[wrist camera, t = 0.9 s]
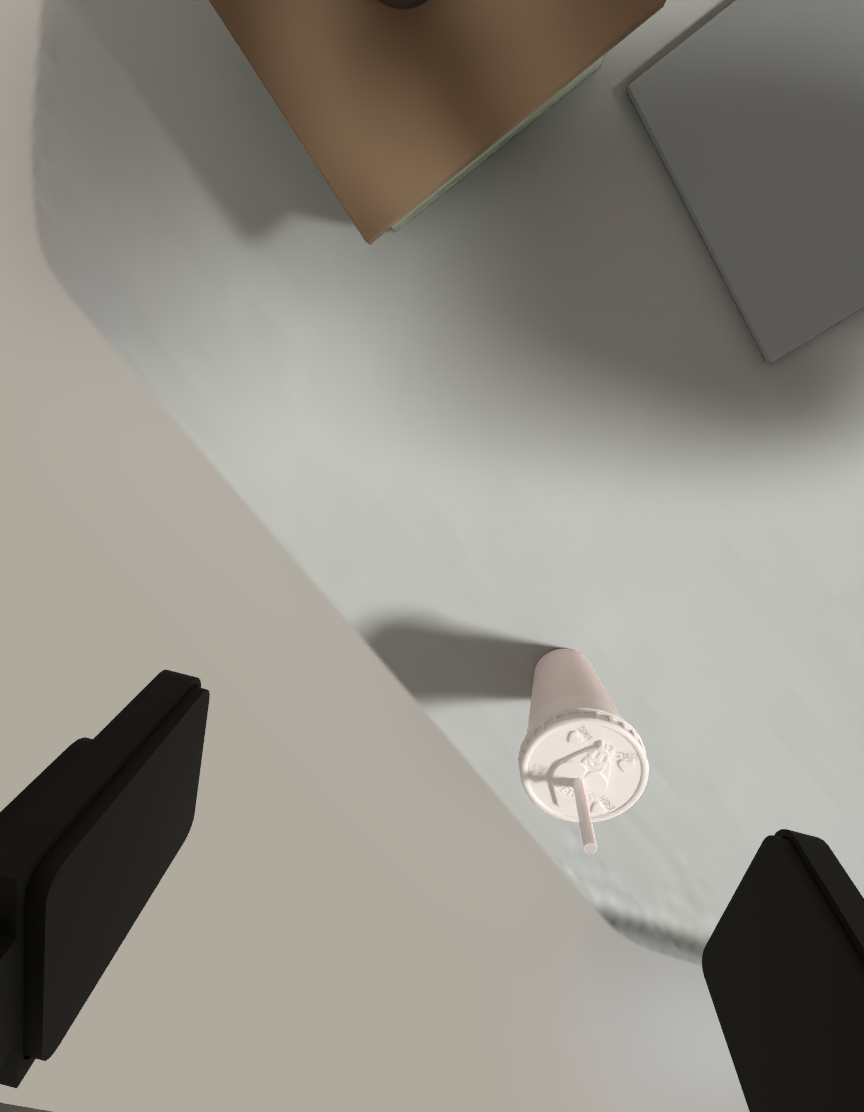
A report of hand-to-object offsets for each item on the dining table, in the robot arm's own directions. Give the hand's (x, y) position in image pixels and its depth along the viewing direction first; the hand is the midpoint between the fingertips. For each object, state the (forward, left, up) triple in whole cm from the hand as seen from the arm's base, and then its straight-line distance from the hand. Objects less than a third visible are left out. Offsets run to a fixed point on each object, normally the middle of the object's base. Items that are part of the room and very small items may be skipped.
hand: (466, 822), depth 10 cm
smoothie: (+3, +14, -28) cm, 31 cm away
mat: (-23, -4, -27) cm, 36 cm away
